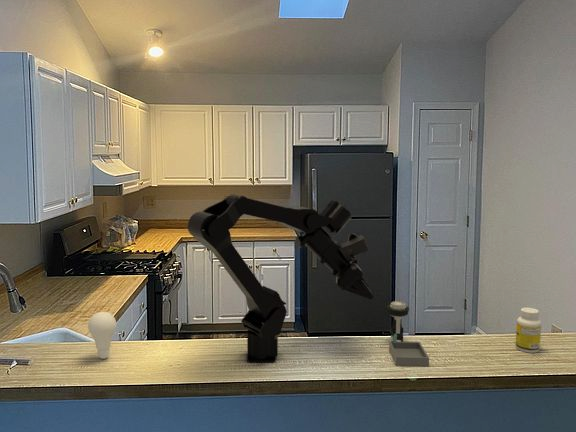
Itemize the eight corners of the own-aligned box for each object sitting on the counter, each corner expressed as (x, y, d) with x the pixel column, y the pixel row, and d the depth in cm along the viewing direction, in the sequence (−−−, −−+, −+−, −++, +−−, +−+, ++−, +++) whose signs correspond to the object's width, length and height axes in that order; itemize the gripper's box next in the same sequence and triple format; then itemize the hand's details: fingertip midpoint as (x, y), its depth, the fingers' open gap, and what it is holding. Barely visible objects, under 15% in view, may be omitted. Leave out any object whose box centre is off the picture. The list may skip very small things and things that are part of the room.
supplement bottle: (518, 343, 135) (520, 305, 133) (541, 348, 132) (544, 309, 130) (512, 349, 130) (515, 310, 129) (537, 355, 127) (540, 315, 126)
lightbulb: (123, 356, 125) (121, 310, 124) (104, 366, 120) (102, 318, 118) (103, 351, 128) (101, 306, 126) (83, 361, 123) (81, 314, 121)
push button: (409, 349, 131) (411, 309, 129) (387, 348, 131) (388, 308, 130) (406, 338, 137) (407, 300, 136) (384, 338, 138) (386, 300, 136)
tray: (395, 365, 121) (396, 357, 121) (389, 349, 130) (389, 341, 130) (428, 366, 121) (429, 357, 121) (419, 349, 130) (419, 342, 130)
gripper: (353, 231, 121) (401, 280, 122) (345, 218, 139) (387, 261, 141) (317, 265, 122) (365, 313, 124) (314, 248, 141) (356, 290, 142)
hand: (369, 292), depth 132 cm, fingers open, 9 cm apart
